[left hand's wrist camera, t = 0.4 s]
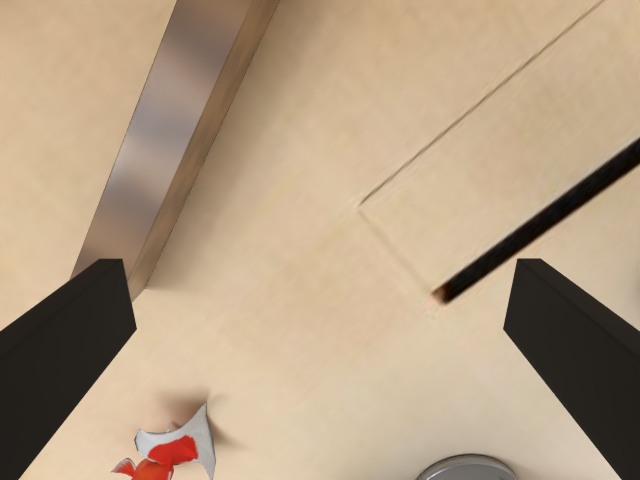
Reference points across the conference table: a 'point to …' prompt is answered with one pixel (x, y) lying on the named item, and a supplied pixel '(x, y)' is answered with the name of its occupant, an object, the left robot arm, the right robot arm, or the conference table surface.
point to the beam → (173, 131)
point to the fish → (172, 450)
